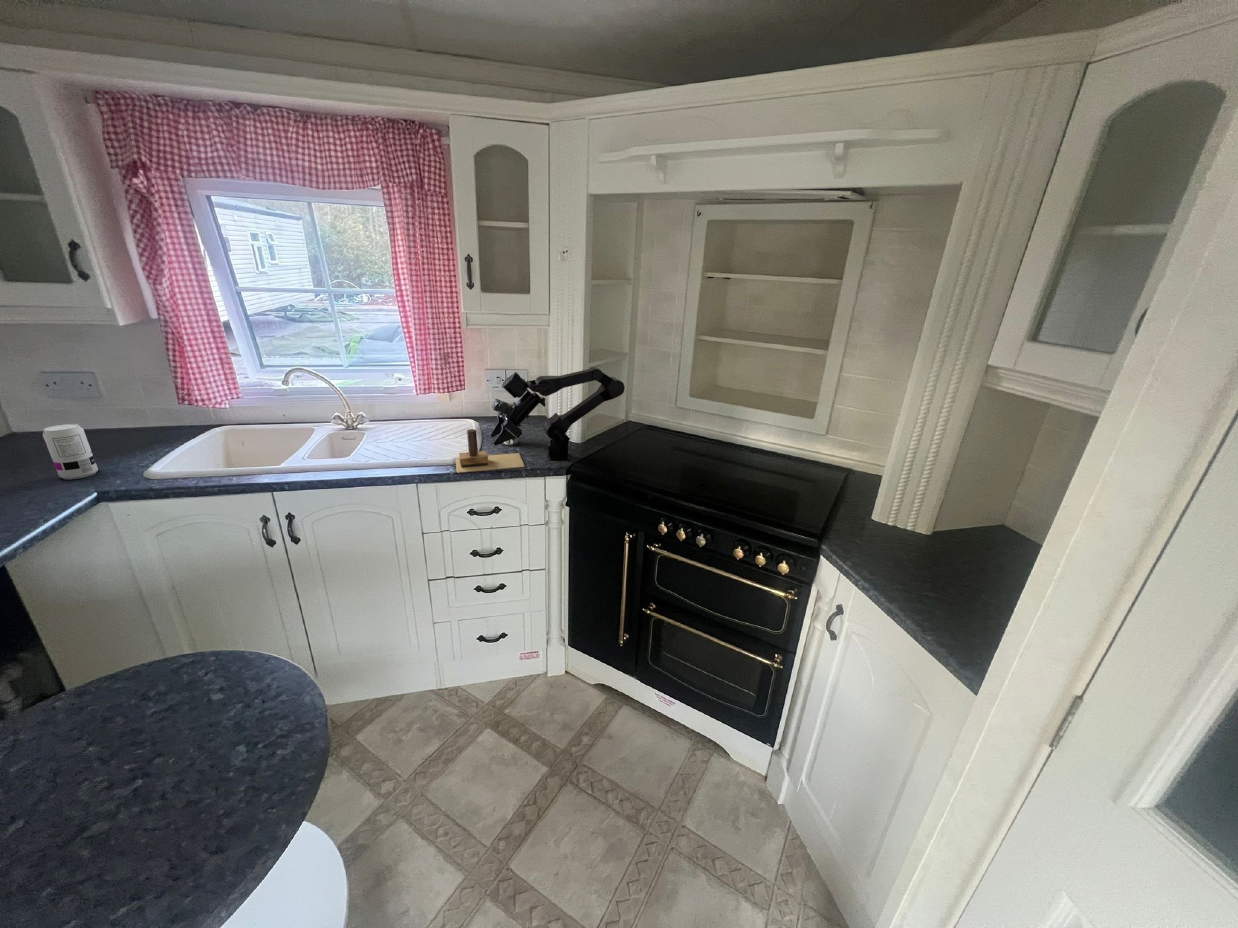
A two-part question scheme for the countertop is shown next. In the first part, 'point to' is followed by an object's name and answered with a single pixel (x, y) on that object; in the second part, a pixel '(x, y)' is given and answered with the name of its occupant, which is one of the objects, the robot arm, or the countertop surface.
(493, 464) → the cork mat
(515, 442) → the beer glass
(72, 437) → the supplement can
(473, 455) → the wooden rubber stamp
